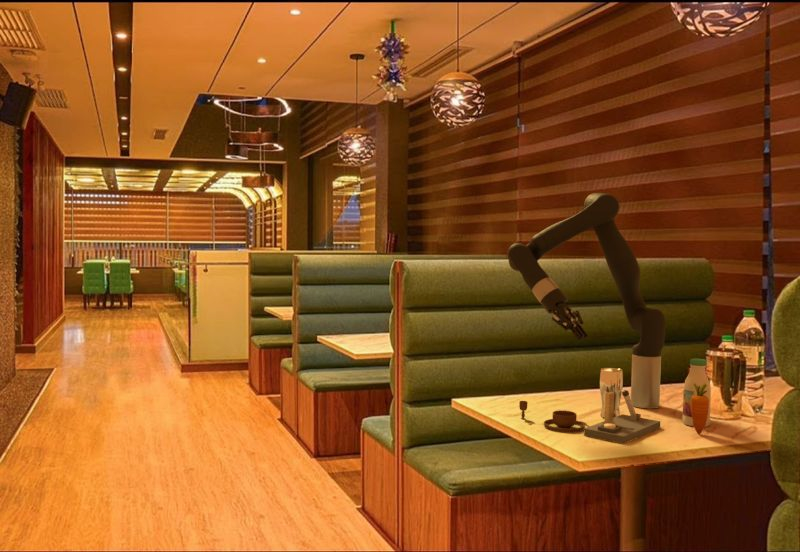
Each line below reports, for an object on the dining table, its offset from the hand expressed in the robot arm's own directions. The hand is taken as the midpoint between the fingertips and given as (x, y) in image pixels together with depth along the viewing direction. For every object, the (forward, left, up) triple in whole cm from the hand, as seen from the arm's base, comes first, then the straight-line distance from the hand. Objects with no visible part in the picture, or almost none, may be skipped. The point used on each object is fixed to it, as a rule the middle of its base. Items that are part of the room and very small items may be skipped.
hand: (583, 338), depth 224 cm
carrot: (-12, +31, -26) cm, 42 cm away
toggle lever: (-7, +14, -24) cm, 29 cm away
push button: (+9, +14, -24) cm, 29 cm away
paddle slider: (+4, +11, -24) cm, 26 cm away
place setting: (+7, -4, -27) cm, 28 cm away
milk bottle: (-23, +26, -26) cm, 43 cm away
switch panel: (+1, +14, -26) cm, 29 cm away
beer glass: (-13, +3, -26) cm, 29 cm away
